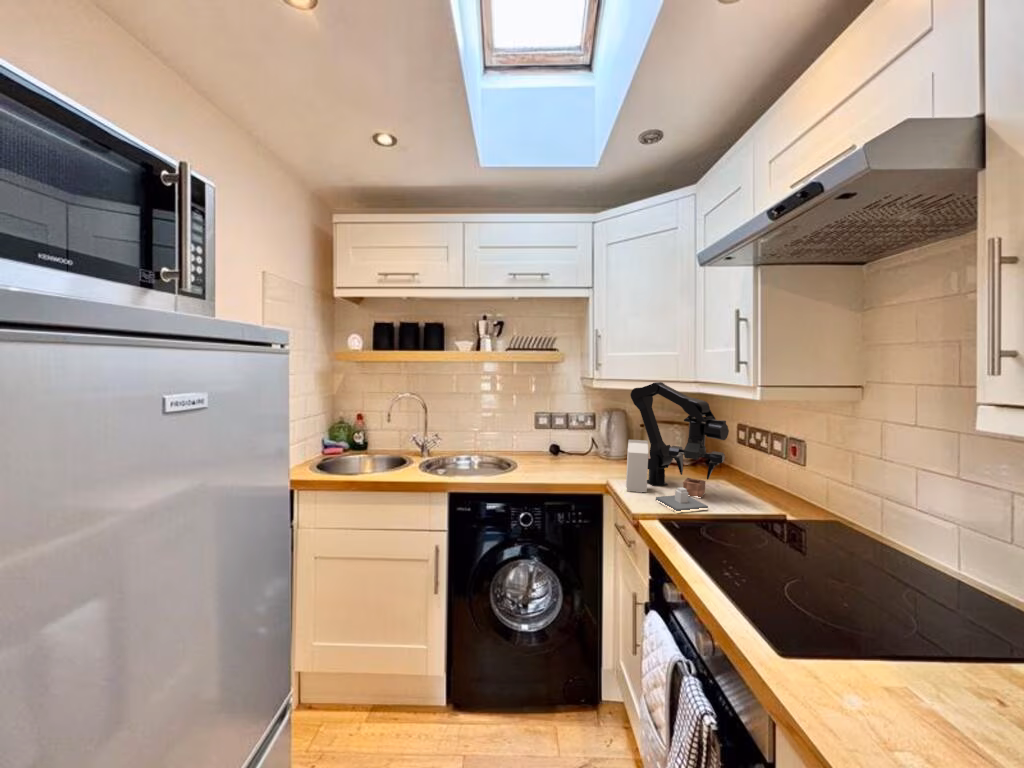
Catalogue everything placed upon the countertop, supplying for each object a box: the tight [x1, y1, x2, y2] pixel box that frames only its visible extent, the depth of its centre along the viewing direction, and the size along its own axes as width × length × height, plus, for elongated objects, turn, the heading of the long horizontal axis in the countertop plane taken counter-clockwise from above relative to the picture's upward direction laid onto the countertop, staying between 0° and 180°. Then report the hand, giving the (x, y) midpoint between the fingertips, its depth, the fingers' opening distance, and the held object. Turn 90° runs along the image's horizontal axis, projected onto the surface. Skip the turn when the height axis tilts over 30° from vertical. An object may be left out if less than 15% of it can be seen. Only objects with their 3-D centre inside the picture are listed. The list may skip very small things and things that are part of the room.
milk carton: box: [625, 439, 649, 493], centre depth 173 cm, size 7×7×19 cm
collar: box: [682, 477, 706, 498], centre depth 169 cm, size 6×6×5 cm
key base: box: [655, 486, 709, 511], centre depth 157 cm, size 12×12×6 cm
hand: (694, 476), depth 169 cm, fingers open, 9 cm apart
